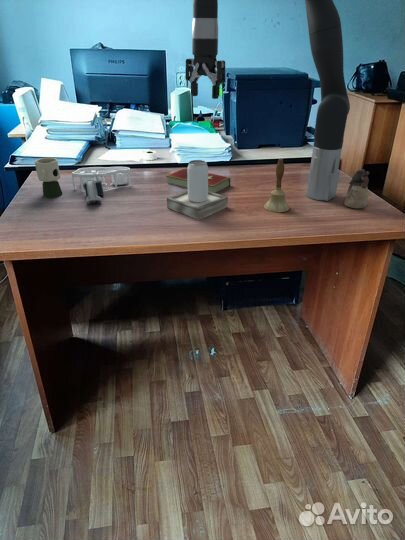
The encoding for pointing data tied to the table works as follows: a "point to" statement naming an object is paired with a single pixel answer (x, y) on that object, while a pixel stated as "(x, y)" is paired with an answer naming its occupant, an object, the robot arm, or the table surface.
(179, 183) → the hardcover book
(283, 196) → the hand bell
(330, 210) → the table surface
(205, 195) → the can
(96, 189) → the watch
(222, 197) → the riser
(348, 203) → the figurine
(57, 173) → the character mug
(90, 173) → the skeletal toy car
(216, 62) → the robot arm
